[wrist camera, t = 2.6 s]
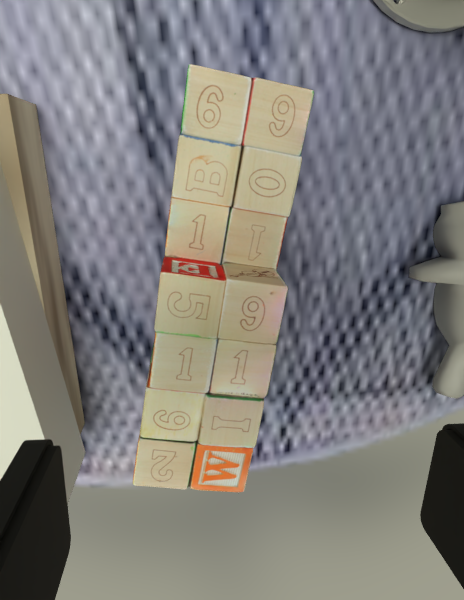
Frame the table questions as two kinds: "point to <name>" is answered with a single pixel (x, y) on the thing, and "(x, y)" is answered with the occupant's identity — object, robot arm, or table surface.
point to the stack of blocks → (220, 280)
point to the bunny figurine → (448, 295)
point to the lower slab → (38, 227)
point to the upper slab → (29, 359)
